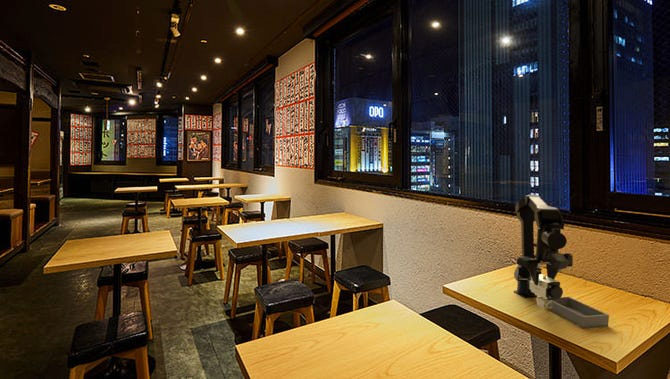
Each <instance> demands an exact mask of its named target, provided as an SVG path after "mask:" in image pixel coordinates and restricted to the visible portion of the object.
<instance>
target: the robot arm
mask: <svg viewBox="0 0 670 379" xmlns="http://www.w3.org/2000/svg"><path fill="white" fill-rule="evenodd" d="M514 210H515V213H516V217H517V219H518V220H519V222H520V224H521V226H520V228H521V229H520V230H521V237H520V238H521V256H518V257H517V258H516V265H517V266H516V268H515V270H514V272H513V278H514V279H515V280H516V281H517V285H516V286H517V287H516V289H517V290H513V293H515V294H518V295H519V296H520V297H522V298H534V297H536V298H537V297H539V296H538V295H537V294H535V293H533V292H531V291H530V289H529V288H528V279H529V277H530V275H531V277H532V279H533V282H534V284H535V285H538V282H539V274H543V273H542V271H543V268H541V267H540V266H541V265H545V267H546V276H547V277H549V278H552V279H554V280H556V277H557V275H558V274H559V272H560V271H561V270H564V269H565V270H566V269H567V268H568V267H573V262H574V261H573V260H574V259H573V258H574V257H573V254H571V253H569V252H568V253H560V252H559V250H561V249H563V248H564V247H566V245H567V242H568V241H567V238H566V236H565V235H564V233H561V231H562V230H565V227H564V226H566V224H565V221H564V217H563V215H562V212H561V211H560V210H559V209H558V208H557V207H553V206H550V205H548V204H547V203H546V202H545V201H544V200H543V199H542V198H541V195H538V194H528V195H527V194H526V195H525V196H524V197H523V198H521V199H519V200H518V201H517V202H516V204H515V208H514ZM534 222H535V224H536V227H537V230H536V231H537V233H536V243H535V238H534V237H535V233H534V232H535V228H534V227H535V226H534ZM535 251H536V252H535Z"/></svg>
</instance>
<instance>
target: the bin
mask: <svg viewBox="0 0 670 379" xmlns="http://www.w3.org/2000/svg"><path fill="white" fill-rule="evenodd" d="M551 303H552V305H553V306H552V308H551V309H549V308H548V309H547V310H548V311H549V312H551V313H554V314H555V315H557V316H559V317H560V318H563V319H565V320H566V321H568V322H570V323H572V324H574V325H576V326H577V327H580V328H581V329H593V328H595V329H596V328H603V326H605V327H609V320H610V318H609V317H610V315H609V314H608V313H606V312H603V311H602V310H599V309H597V308H595V307H593V306H591V305H588V304H587V303H583V302H582V301H579V300H576V298H572V297H570V296H561V297H560V299H555V300H552V302H551Z"/></svg>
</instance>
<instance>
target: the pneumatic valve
mask: <svg viewBox="0 0 670 379" xmlns="http://www.w3.org/2000/svg"><path fill="white" fill-rule="evenodd" d="M528 288H529V289H530V291H531V292H533V293H535V294H536V295H538V296H537V297H536V300H535V301H536V306H537V307H538V308H541V309H543V310H548V308H549V309H551V308H552V306H553V305H552V303H551V302H552V300H555V299H560V297H563V294H564V290H563V288H562V287H561V282H560V281H559V280H556V279H552V278H549V277H547V275H545V274H543V273H541V274H539V282H538V285H535V284H534V282H533V279H532V277H531V275H530V277H529V279H528Z"/></svg>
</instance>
